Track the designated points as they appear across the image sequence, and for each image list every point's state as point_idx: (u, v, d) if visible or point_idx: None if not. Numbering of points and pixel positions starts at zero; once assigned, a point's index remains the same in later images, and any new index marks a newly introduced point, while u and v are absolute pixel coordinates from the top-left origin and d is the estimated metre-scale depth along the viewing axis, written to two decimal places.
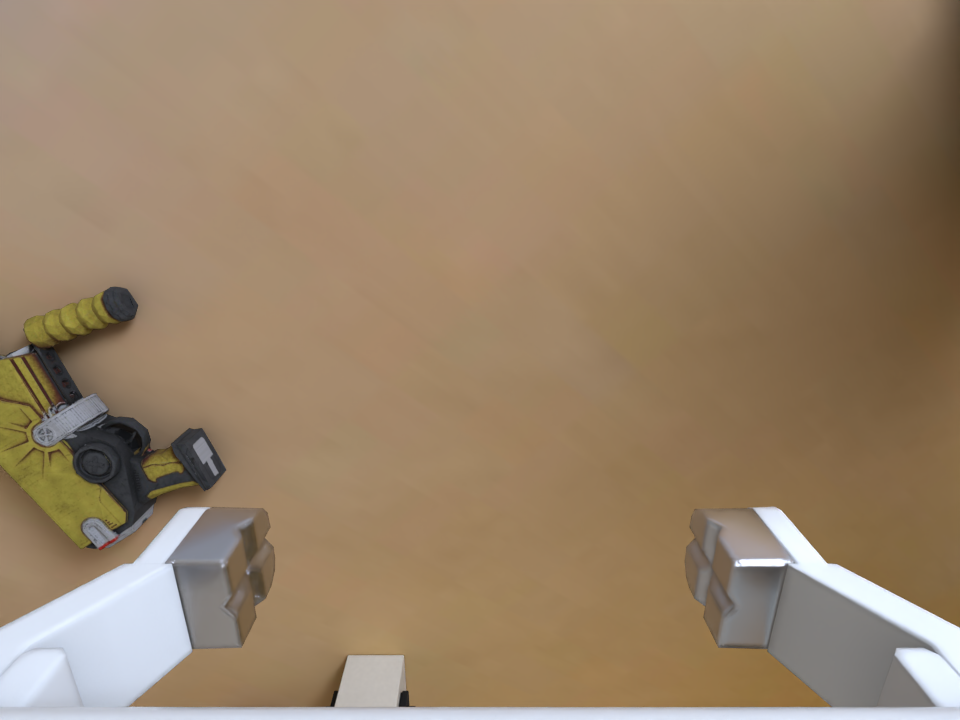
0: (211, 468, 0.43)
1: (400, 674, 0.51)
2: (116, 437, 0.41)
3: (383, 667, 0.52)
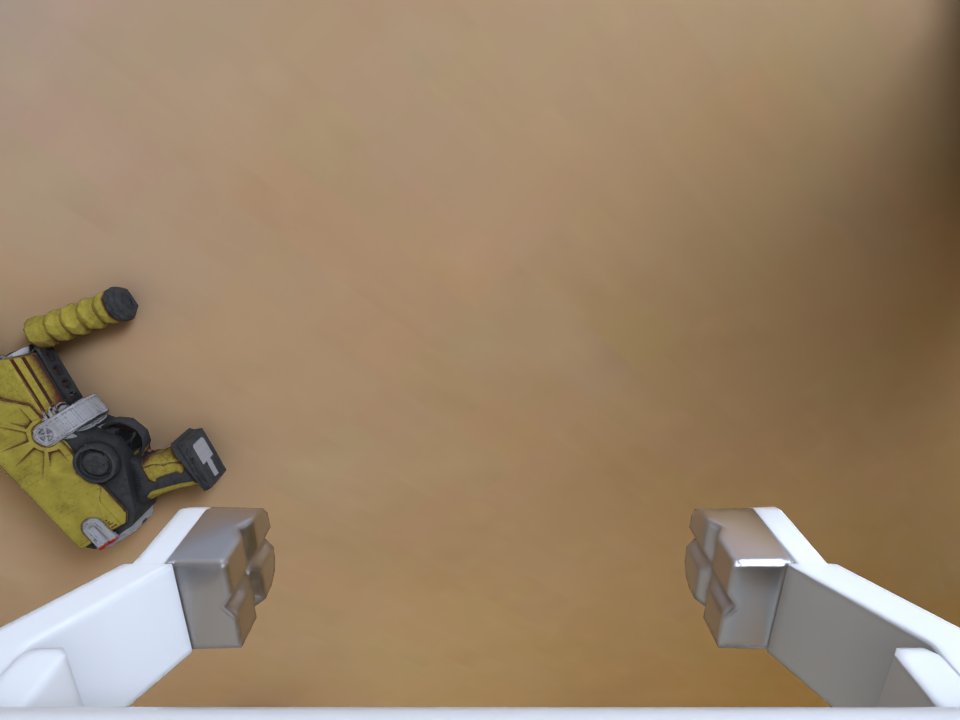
0: (211, 468, 0.43)
1: None
2: (116, 437, 0.41)
3: None
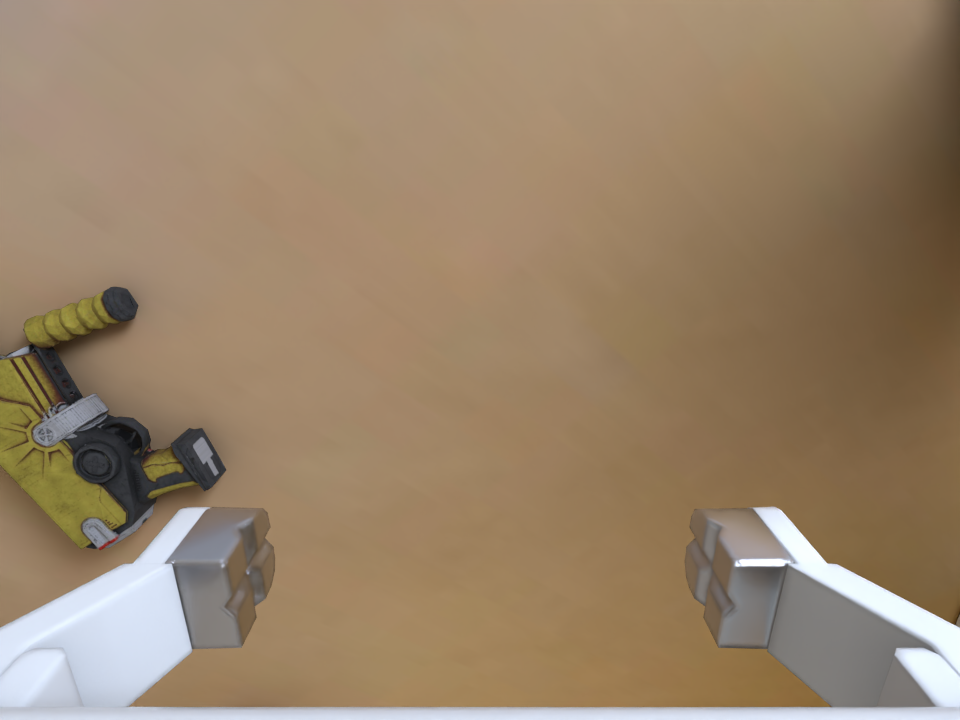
0: (211, 468, 0.43)
1: None
2: (116, 437, 0.41)
3: None
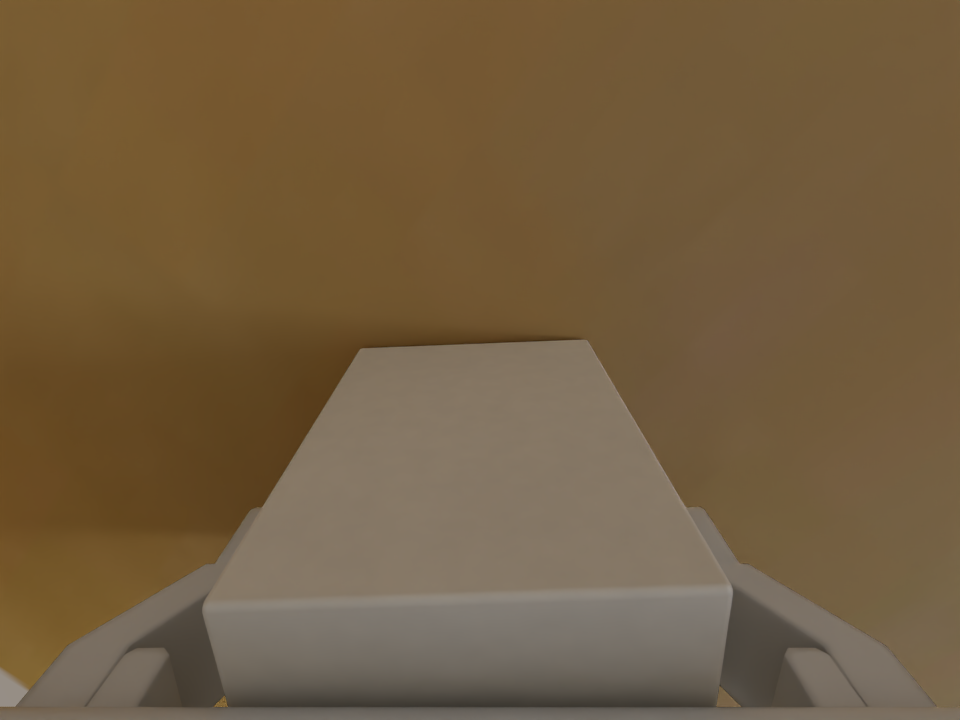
0: None
1: None
2: None
3: None
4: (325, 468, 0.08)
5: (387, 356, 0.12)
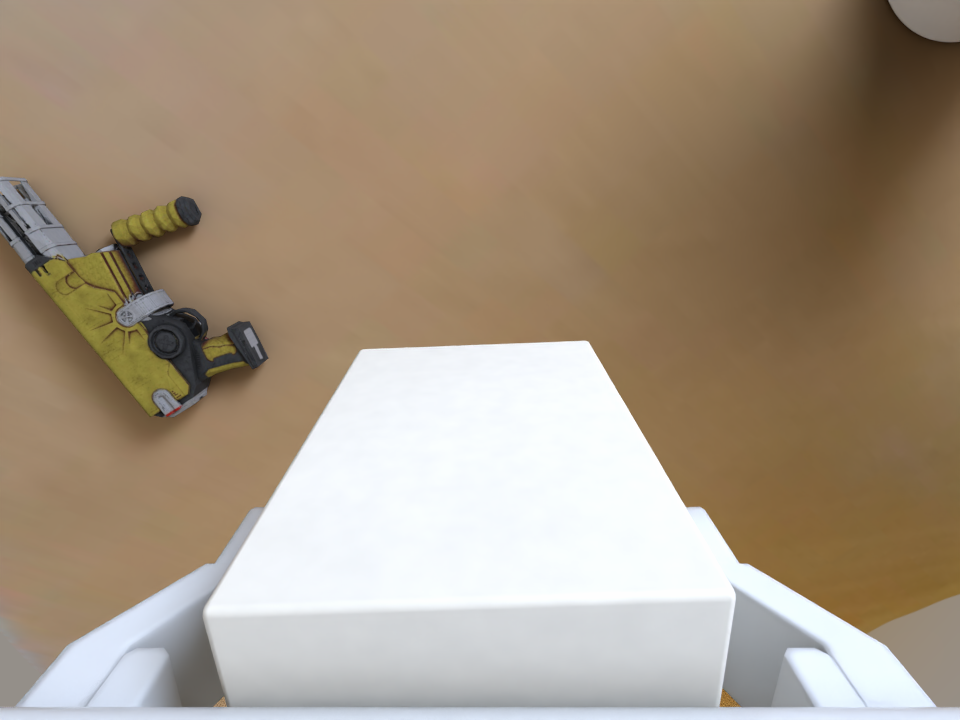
0: (258, 353, 0.52)
1: None
2: (182, 323, 0.50)
3: None
4: (325, 471, 0.08)
5: (387, 358, 0.12)
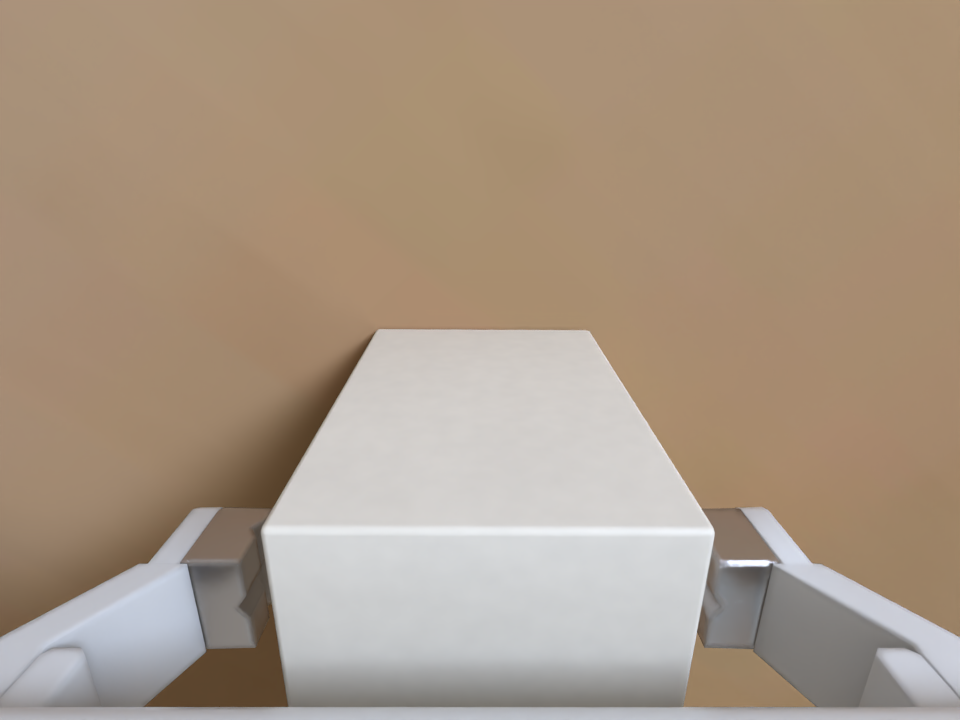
0: None
1: None
2: None
3: None
4: (355, 427, 0.09)
5: (403, 337, 0.13)
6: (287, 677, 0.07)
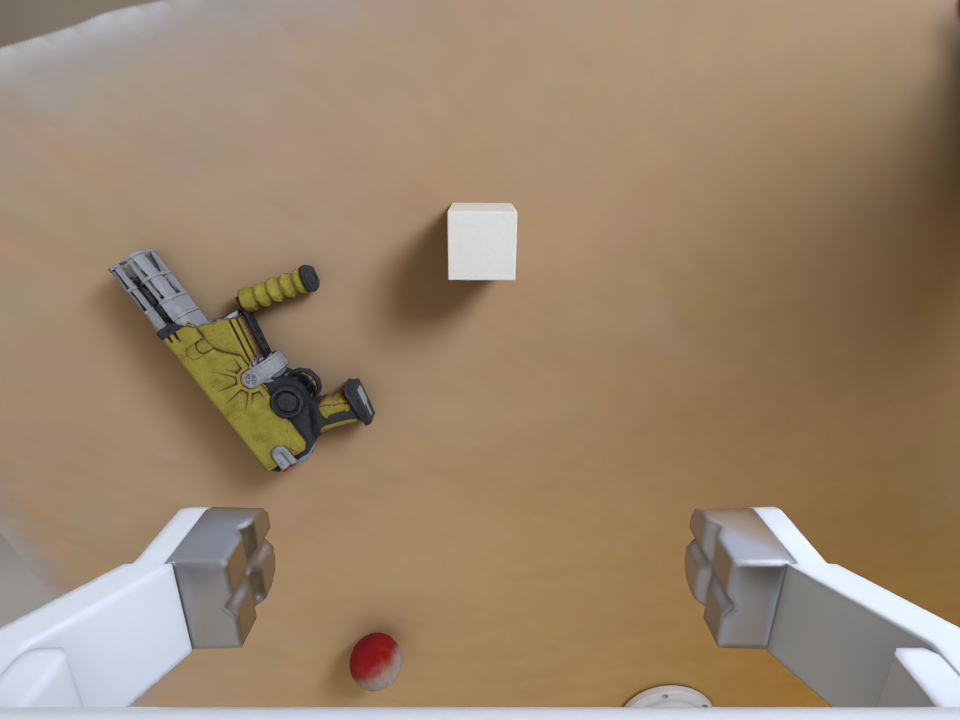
0: (368, 409, 0.54)
1: None
2: (299, 383, 0.53)
3: None
4: (456, 208, 0.45)
5: (460, 203, 0.49)
6: (448, 242, 0.43)
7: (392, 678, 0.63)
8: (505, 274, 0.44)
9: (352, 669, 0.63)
